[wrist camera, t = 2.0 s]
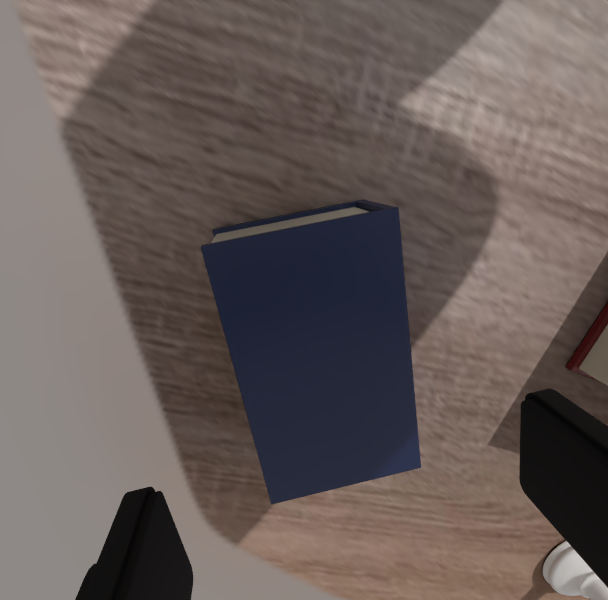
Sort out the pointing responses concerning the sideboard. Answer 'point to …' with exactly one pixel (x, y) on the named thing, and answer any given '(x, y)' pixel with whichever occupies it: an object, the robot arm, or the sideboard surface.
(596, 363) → the hardback
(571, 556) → the chess piece
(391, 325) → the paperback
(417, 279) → the sideboard surface
